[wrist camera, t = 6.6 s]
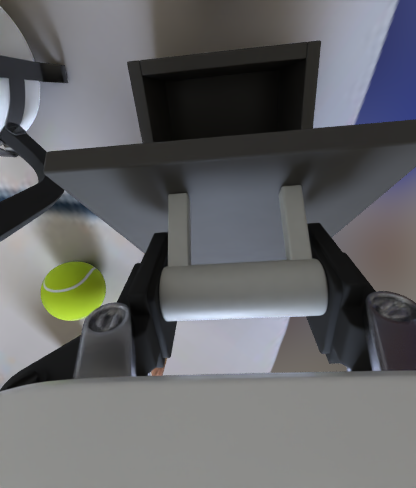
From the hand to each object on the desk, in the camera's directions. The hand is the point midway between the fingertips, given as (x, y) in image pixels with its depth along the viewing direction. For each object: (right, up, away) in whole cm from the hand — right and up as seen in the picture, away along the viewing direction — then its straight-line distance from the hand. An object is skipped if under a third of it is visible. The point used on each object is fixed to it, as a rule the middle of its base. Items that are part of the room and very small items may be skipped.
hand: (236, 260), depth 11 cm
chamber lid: (0, +2, +4) cm, 4 cm away
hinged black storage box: (+1, +10, +16) cm, 19 cm away
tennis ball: (-17, -3, +24) cm, 30 cm away
